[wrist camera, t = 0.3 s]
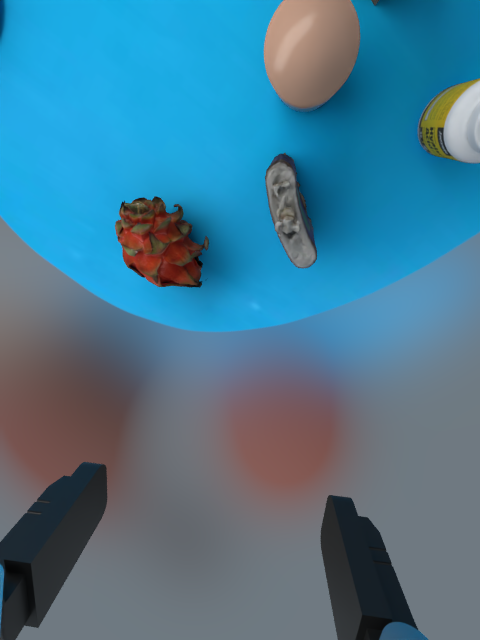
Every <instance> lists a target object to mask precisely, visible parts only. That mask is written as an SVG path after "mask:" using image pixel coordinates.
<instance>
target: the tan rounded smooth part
mask: <svg viewBox="0 0 480 640" xmlns="http://www.w3.org/2000/svg"><path fill="white" fill-rule="evenodd" d="M359 44H360V27H359V20H358V16H357V13H356V11H355V8H354V6H353V4H352V2H351V1H350V0H283V2H282V3H281V4H280V5H279V7H278V8H277V10H276V11H275V13H274V15H273V17H272V19H271V21H270V24H269V26H268V30H267V33H266V38H265V44H264V61H265V67H266V71H267V75H268V77H269V80H270V82H271V84H272V86H273V87H274V89H275V91H276V93H277V94H278V96H279V98H280V99H281V101H282V102H283V103H284V104H285V105H286V106H287V107H289V108H291V109H292V110H295V111H299V112H309V111H313V110H315V109H318V108H319V107H321V106H322V105H324V104H325V103H326V102H327V101H328V100H329V99H330V98H331V97H332V96H333V95H334V94H335V93H336V92H337V91H338V90H339V89H340V88H341V86H342V85H343V84H344V83H345V81H346V80H347V78H348V77H349V75H350V73H351V71H352V69H353V67H354V64H355V62H356V58H357V55H358V50H359Z"/></svg>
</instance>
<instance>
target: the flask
mask: <svg viewBox="0 0 480 640" xmlns="http://www.w3.org/2000/svg"><path fill="white" fill-rule="evenodd" d="M296 174H297V173H296V168H295V164H294V160H293V159H292V158H291V157H289V156H288V155H286V154H285V153H284V154H279V155H278V156H276V157H275V158H274V160H273V161H272V163H271V165H270V166H269V168H268V169H267V171H266V176H265V180H266V189H267V196H268V202H269V208H270V213H271V216H272V220H273V223H274V225H275V231H276V232H277V234H278V237H279V238H280V241H281V243H282V245H283V247H284V249H285V251H286V253H287V255H288V257H289V258H290V260H291V262H292V263H293V264H294V265H295V266H296V267H298V268H308V267H310V266H311V265H312V264H313V263H315V261H316V259H317V250H316V246H315V241H314V235H313V226H312V224H311V219H310V218H309V217H308V215H307V211H306V204H305V200H304V196H303V195H301V193H300V192H299V186H300V184H299V183H298V182H297V179H296Z"/></svg>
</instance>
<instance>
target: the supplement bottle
mask: <svg viewBox="0 0 480 640" xmlns="http://www.w3.org/2000/svg"><path fill="white" fill-rule="evenodd" d="M418 139H419V142H420V144H421V146H422V147H423V149H424V150H425V151H427V152H428V153H430V154H432V155H435V156H438V157H443V158H448V159H452V160H457V161H461V162H466V163H480V79H476V80H473V81H469V82H465V83H461V84H457V85H454V86H451V87H449V88H447V89H445V90H443V91H441V92H440V93H439V94H437V95H436V96H435V97H434V98H433V99H432V100H431V101H430V102H429V103H428V105H427V106H426V108H425V109H424V111H423V113H422V115H421V117H420V120H419V124H418Z"/></svg>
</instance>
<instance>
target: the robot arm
mask: <svg viewBox="0 0 480 640" xmlns="http://www.w3.org/2000/svg"><path fill="white" fill-rule="evenodd" d="M106 504H107V475H106V466H105V465H104V464H96V463H88V462H83V463H82V464H81V465H80V466H79V467H78V468H77V469H76V471H75V472H74V473H73V474H72V476H71V477H70V476H63V477H62V478H60V479H59V480H57V481H56V482H54V483H53V484H51V485H50V486H49V487H48V488H47V489H46V490H45V491H44V492H43V494H42V495H41V496H40V497H39V498H38V499H37V502H35V503H34V504H33V505H32V506H31V507H30V508H29V510H28V512H27V513H25V514H24V515H23V517H22V518H21V519H20V520H19V521H18V522H17V524H16V525H15V526H14V527H13V528H12V529H11V530H10V532H9V533H8V534H7V535H6V536H5V537H4V539H3V540H2V541H1V542H0V640H15V639H16V638H17V636H18V634H19V633H20V631H21V630H22V628H23V627H24V625H25V626H31V627H37V628H38V627H39V625H40V624H41V622H42V620H43V618H44V617H45V615H46V613H47V612H48V610H49V608H50V607H51V604H52V603H53V601H54V600H55V598H56V596H57V594H58V593H59V591H60V589H61V587H62V586H63V584H64V582H65V580H66V579H67V577H68V575H69V574H70V572H71V570H72V569H73V567H74V565H75V563H76V562H77V560H78V558H79V556H80V555H81V553H82V551H83V549H84V548H85V546H86V544H87V542H88V540H89V539H90V537H91V536H92V534H93V532H94V530H95V529H96V527H97V525H98V523H99V522H100V520H101V518H102V516H103V514H104V511H105V508H106ZM321 550H322V555H323V561H324V566H325V572H326V577H327V583H328V588H329V594H330V599H331V605H332V609H333V616H334V621H335V626H336V632H337V637H338V640H428V639H427V638H426V637H425V636H424V635H423V634H422V633H421V632H420V631H419V630H418V628H417V626H416V624H415V622H414V619H413V617H412V614H411V612H410V609H409V606H408V604H407V602H406V599H405V596H404V594H403V591H402V589H401V586H400V583H399V581H398V578H397V576H396V573H395V571H394V568H393V567H392V565H391V560H390V558H389V555H388V553H387V552H386V548H385V545H384V543H383V540H382V537H381V535H380V532H379V531H378V530H377V528H376V527H375V526H374V525H373V524H372V522H371V521H370V520H369V518H367V517H361V516H358V514H357V512H356V508H355V506H354V503H353V501H352V499H351V498H348V497H340V496H333V495H329V496H328V498H327V503H326V508H325V513H324V518H323V523H322V528H321Z"/></svg>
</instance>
